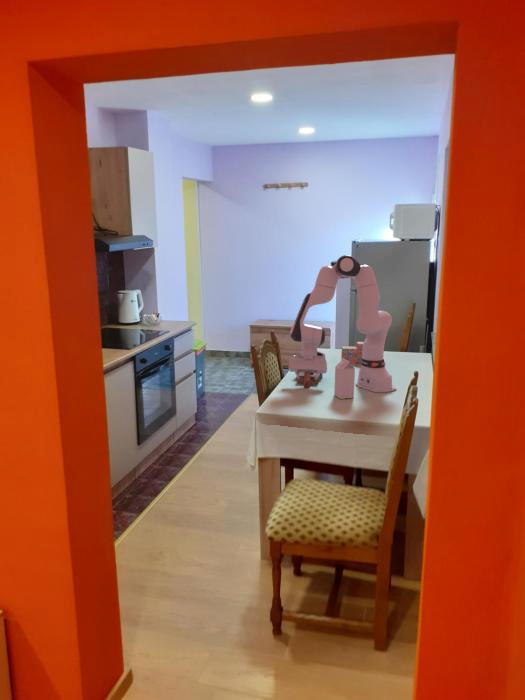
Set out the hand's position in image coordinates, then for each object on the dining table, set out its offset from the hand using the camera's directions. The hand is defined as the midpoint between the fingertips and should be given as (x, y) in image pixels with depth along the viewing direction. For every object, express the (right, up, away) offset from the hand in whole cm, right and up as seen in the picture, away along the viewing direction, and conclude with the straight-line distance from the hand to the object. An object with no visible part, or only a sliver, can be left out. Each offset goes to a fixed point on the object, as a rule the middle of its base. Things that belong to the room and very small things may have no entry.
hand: (306, 378), depth 299 cm
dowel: (0, -4, +1) cm, 5 cm away
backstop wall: (+3, 0, +20) cm, 20 cm away
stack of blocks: (+37, +7, +56) cm, 68 cm away
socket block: (+2, -2, +13) cm, 13 cm away
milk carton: (+17, -8, -15) cm, 24 cm away
